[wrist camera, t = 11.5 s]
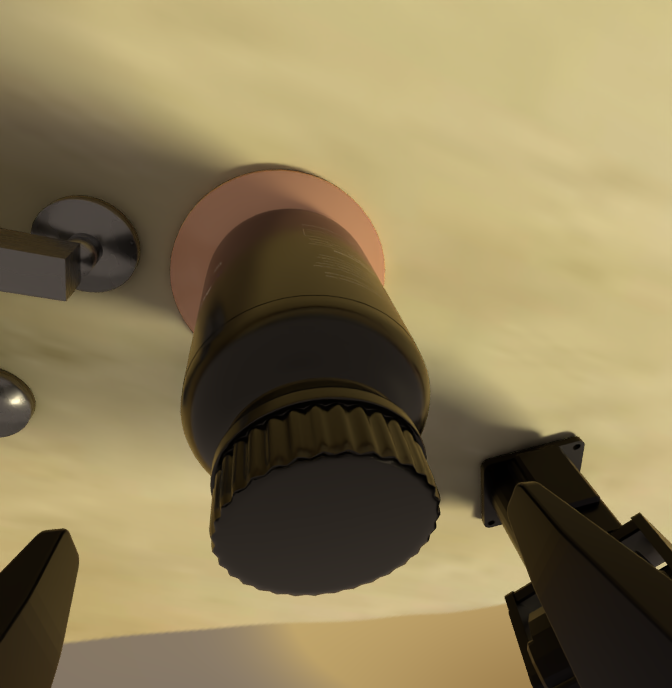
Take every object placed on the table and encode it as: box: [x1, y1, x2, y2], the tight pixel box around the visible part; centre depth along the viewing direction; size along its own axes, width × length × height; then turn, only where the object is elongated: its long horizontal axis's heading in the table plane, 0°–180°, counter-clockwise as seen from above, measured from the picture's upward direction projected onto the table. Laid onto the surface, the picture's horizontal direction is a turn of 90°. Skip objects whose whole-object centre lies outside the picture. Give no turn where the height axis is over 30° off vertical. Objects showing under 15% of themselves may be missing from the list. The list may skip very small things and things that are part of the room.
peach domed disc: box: [170, 169, 385, 333], centre depth 19 cm, size 9×9×1 cm
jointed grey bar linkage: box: [0, 195, 140, 437], centre depth 17 cm, size 11×11×4 cm
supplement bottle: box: [181, 209, 440, 596], centre depth 14 cm, size 7×7×12 cm
